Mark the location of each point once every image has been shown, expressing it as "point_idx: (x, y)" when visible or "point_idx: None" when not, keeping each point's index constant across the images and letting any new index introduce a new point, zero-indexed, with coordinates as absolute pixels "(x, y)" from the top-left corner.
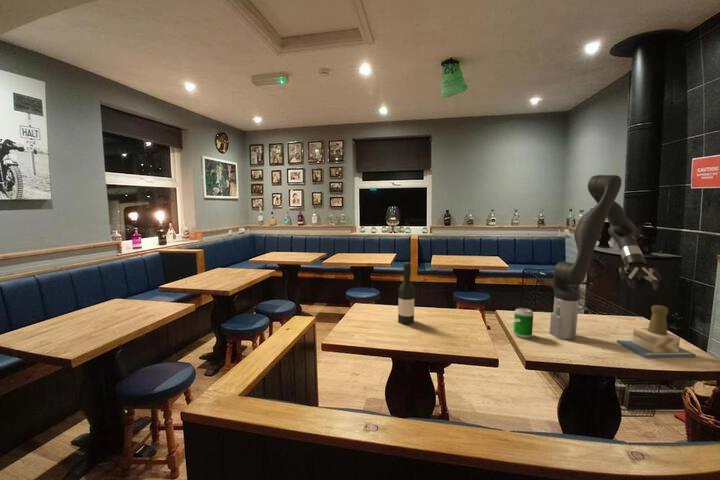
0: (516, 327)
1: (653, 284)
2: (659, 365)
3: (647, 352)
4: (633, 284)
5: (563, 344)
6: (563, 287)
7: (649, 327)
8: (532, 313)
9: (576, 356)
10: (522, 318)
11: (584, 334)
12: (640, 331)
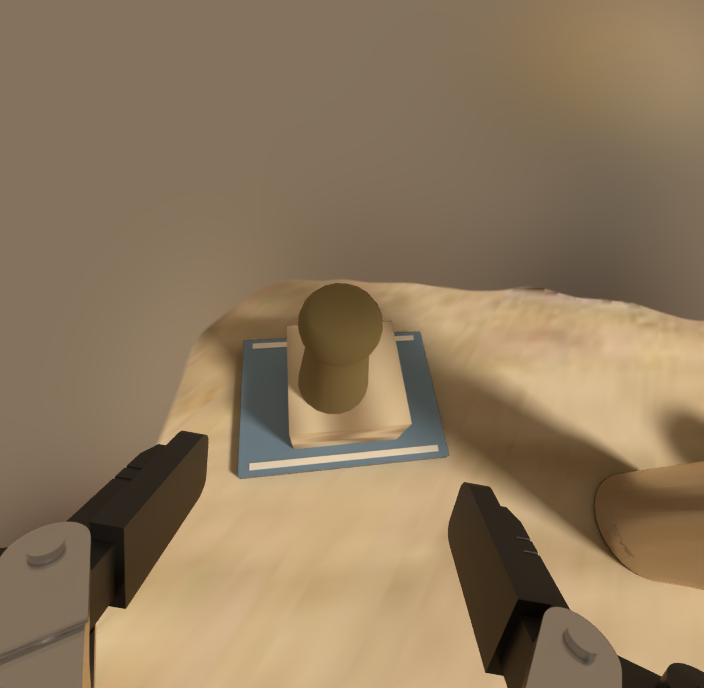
0: None
1: (163, 520)
2: (406, 297)
3: (400, 349)
4: (489, 500)
5: (644, 426)
6: None
7: (367, 379)
8: None
9: (613, 341)
10: None
11: (546, 550)
12: (403, 386)
